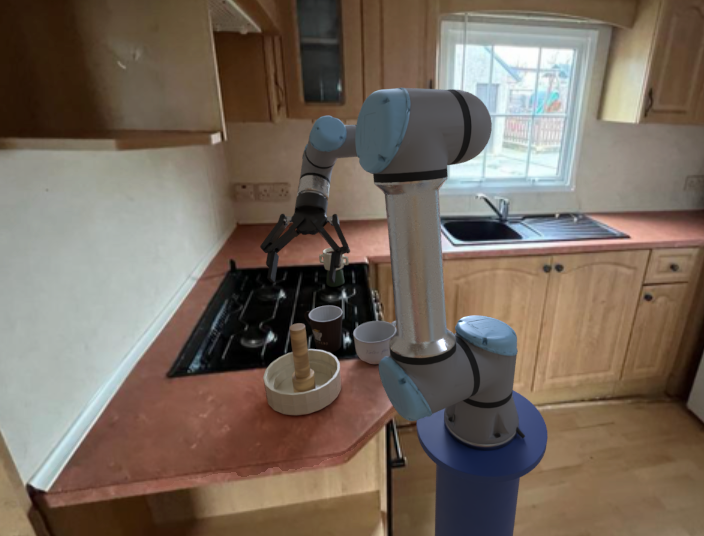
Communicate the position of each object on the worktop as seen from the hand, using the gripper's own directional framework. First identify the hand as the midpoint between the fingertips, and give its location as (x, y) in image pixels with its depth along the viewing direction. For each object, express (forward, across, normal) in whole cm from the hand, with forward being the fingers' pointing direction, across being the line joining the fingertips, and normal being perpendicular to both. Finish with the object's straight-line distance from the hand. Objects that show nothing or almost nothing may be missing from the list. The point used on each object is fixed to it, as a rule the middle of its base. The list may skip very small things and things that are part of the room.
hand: (301, 280), depth 91 cm
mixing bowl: (+22, -1, -12) cm, 25 cm away
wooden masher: (+22, 0, -11) cm, 24 cm away
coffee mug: (+8, -1, -26) cm, 27 cm away
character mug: (-18, +4, -52) cm, 56 cm away
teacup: (+12, -16, -22) cm, 30 cm away
